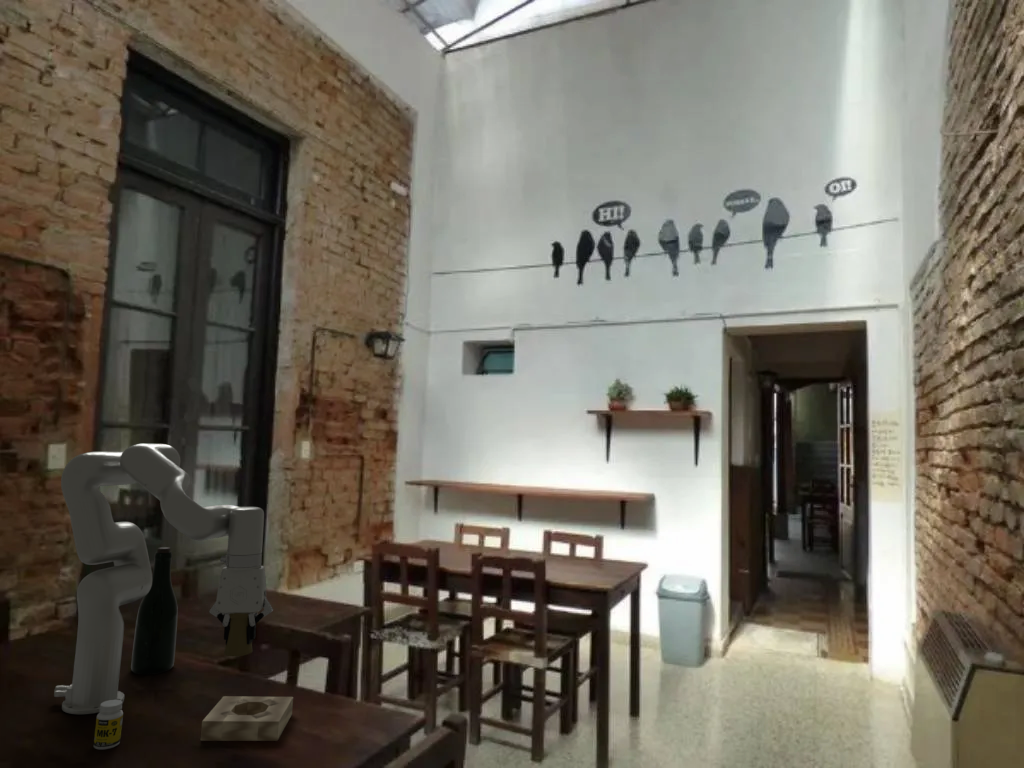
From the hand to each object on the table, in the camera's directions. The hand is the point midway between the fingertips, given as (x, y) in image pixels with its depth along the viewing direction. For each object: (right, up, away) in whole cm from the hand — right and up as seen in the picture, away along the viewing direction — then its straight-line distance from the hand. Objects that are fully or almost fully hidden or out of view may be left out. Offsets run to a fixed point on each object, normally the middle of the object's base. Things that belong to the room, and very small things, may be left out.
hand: (239, 642), depth 150 cm
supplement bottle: (-22, -16, -14) cm, 31 cm away
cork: (0, -2, 0) cm, 2 cm away
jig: (+3, -18, -2) cm, 19 cm away
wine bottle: (-37, -20, +31) cm, 52 cm away
